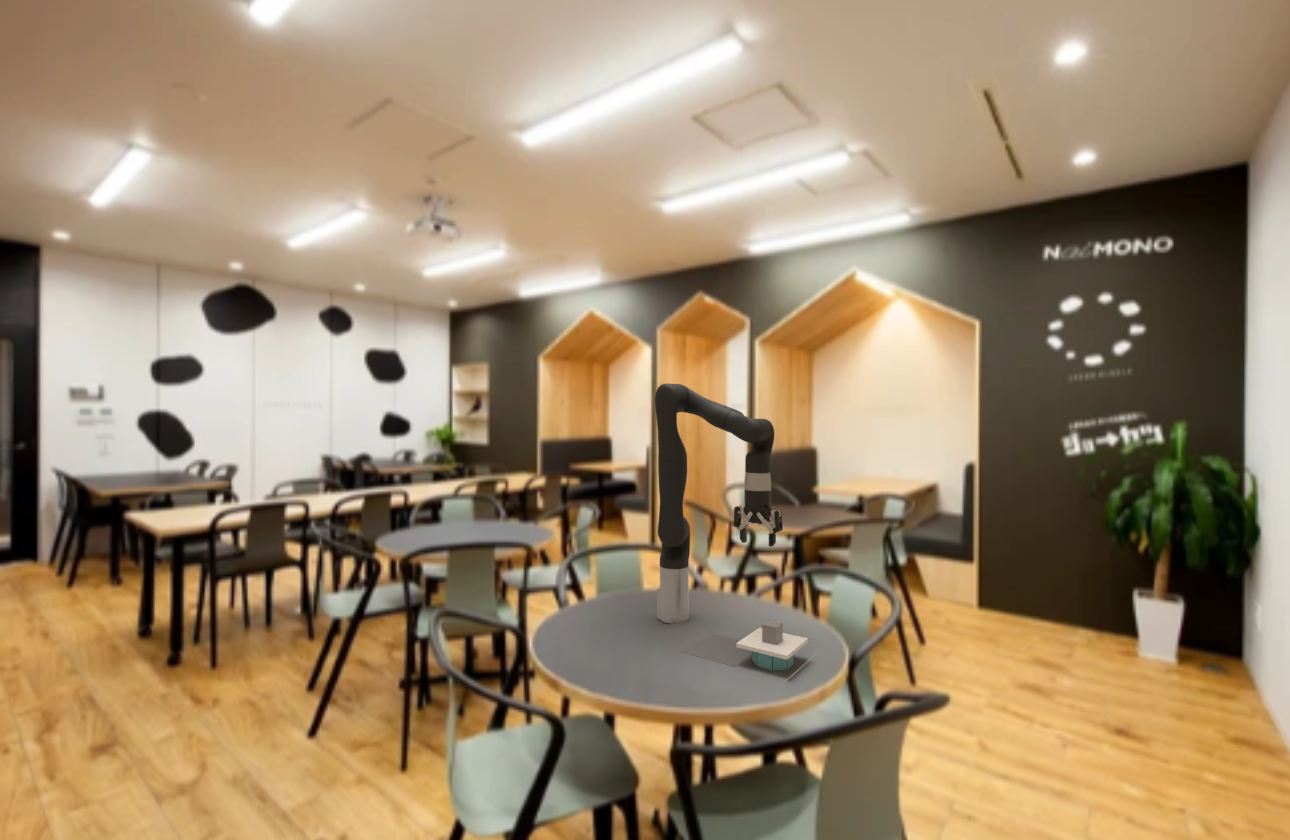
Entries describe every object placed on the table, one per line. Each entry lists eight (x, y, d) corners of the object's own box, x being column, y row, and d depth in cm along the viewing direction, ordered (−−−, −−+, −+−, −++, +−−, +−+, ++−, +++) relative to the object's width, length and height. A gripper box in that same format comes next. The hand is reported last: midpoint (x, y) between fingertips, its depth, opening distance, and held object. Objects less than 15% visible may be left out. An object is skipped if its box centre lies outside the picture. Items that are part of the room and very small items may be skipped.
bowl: (746, 665, 159) (746, 646, 159) (763, 653, 167) (763, 634, 167) (783, 675, 153) (783, 655, 153) (798, 661, 161) (798, 643, 161)
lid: (736, 647, 159) (736, 626, 158) (759, 631, 170) (759, 611, 170) (787, 659, 150) (787, 637, 150) (807, 642, 162) (807, 621, 162)
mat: (679, 653, 167) (679, 651, 167) (710, 634, 181) (710, 633, 181) (735, 668, 157) (735, 666, 157) (763, 647, 171) (763, 646, 171)
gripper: (729, 487, 176) (729, 543, 176) (775, 491, 168) (775, 550, 168) (741, 485, 182) (741, 539, 183) (786, 488, 174) (786, 545, 174)
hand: (757, 544), depth 175 cm, fingers open, 8 cm apart
